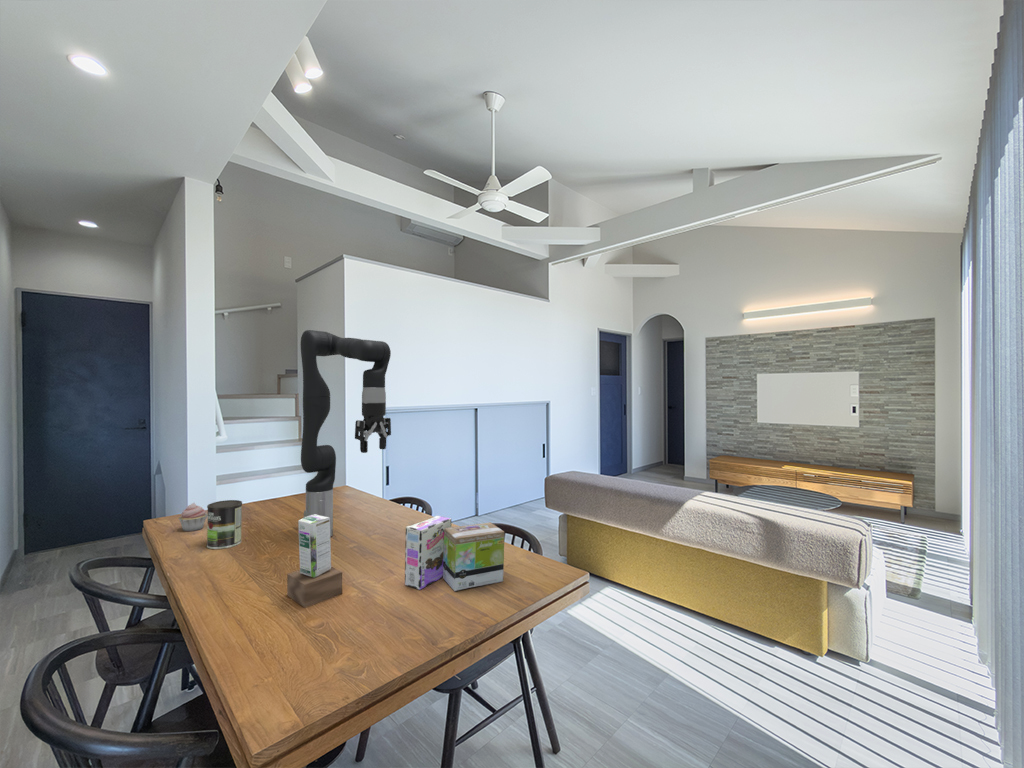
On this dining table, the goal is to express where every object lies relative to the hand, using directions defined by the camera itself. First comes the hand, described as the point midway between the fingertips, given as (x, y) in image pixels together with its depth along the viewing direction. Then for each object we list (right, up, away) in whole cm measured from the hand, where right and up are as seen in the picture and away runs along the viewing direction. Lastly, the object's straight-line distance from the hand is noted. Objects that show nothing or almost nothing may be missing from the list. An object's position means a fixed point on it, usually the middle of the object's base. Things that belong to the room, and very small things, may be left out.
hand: (373, 450), depth 148 cm
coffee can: (-55, -34, +9) cm, 65 cm away
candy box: (+22, -34, -18) cm, 44 cm away
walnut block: (-7, -34, -28) cm, 45 cm away
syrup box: (-7, -28, -28) cm, 40 cm away
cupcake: (-77, -34, +25) cm, 88 cm away
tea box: (+34, -35, -19) cm, 52 cm away
